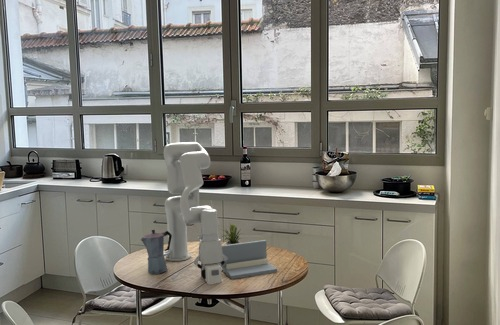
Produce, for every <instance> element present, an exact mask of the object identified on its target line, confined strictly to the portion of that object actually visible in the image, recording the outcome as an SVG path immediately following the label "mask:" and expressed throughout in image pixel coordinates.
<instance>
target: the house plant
mask: <svg viewBox="0 0 500 325" xmlns="http://www.w3.org/2000/svg"><path fill="white" fill-rule="evenodd" d="M229 225H230V226H229V231H228V230H227V228H226V227H225V226H223V225H221V227H222V228H221V229H220V230H222V231H224V232H225V234H223V235H222V236H221V238H222V237H223V238H224V241H225V240H226V242H225V243H226V244H225V245H230V244H237V243H241V241H240V239H241V238H240V235H242V234H244V232H243V233H240V232H241V230H242V228H240V229H239V230H238V226H237V225H236V224H235V223H233V224H232V223H231V222H229ZM223 228H224V230H223ZM237 230H238V231H237ZM229 232H230V233H229Z"/></svg>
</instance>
